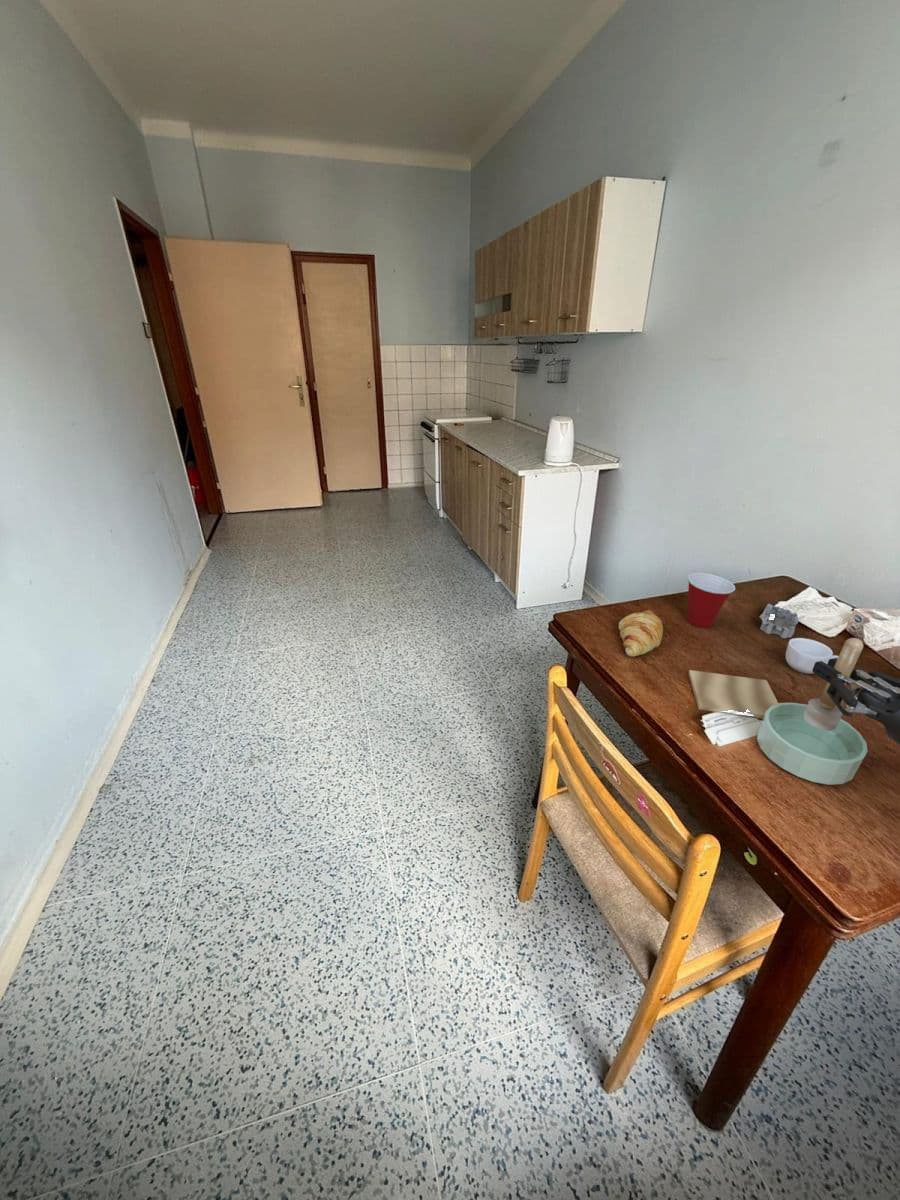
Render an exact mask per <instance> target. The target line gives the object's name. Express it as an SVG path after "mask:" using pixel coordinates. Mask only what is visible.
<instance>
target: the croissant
mask: <svg viewBox="0 0 900 1200" xmlns="http://www.w3.org/2000/svg"><path fill="white" fill-rule="evenodd" d="M618 629H619V636H620V638H621V640H622V645H623V647H624V648H625V654H626V655H627V656H628V657H632V658H633V657H637V656H641V655H645V654H647V653H649V652H651V651H653V649H655V648H657V647H660V645H661V642H662V639H663V634H664V626H663V622H662V620H661V618H660V617H658V615H656V614H655V612H654V611H653V610H650V609H645V610H643V611H638V612H633V613H630V614H628V615H626V616H625V617H623V618H622V619H621V620H619V622H618Z"/></svg>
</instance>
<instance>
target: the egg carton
mask: <svg viewBox="0 0 900 1200" xmlns="http://www.w3.org/2000/svg"><path fill="white" fill-rule="evenodd" d="M770 614H775V618H774V620H769V617H770ZM760 617H761V620H762V622H761V625H760V627H759V630H761V631H762V632H764V633H765V634H768V635H771V634H773V635H779V637H780V638H781V639H787V638H792V637H793V635H794V634H795V631H796V627H797V625H798V623H799V621H800V620H799V619H800V618H799V617H798V613H797V612H795V611H794V612H791V610H790V609H785V608H783V607H780V606H778V605H777V606H775V605H773V604H771V603H767V605H766V606H765V608H764V610H763V612H762V614H761V616H760Z"/></svg>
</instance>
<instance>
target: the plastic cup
mask: <svg viewBox="0 0 900 1200" xmlns="http://www.w3.org/2000/svg"><path fill="white" fill-rule="evenodd" d="M687 582H688V595H687V615H686V616H687V617H686V619H687V622H688V624H690V625H692V626H694V627H696V628H702V629H707V628H710V627H712V625H713V624H714V623H715V620H716V618H717V616H718V615H719V614H720V611H721V610H722V608H723V606H724V604H725V603H726V601H727V599H728V598H729V596H730V595H731V594H732V593H734V592H735V590H736V586H735V584H734V583H732V581H731V580H729V579H726V578H724V577H722V576H720V575H716V574H712V573H707V572H692V573H690V574H688V576H687Z"/></svg>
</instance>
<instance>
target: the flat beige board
mask: <svg viewBox="0 0 900 1200" xmlns="http://www.w3.org/2000/svg"><path fill="white" fill-rule="evenodd" d="M688 677H689V681H690V684H691V687H692V691H693V695H694V699H695V701H696V702H695V703H696V705H697V710H700V711H706V712H707V711H708V712H715V713H719V712H718V711H728V710H734V711H738V712H743V713H744V712H746V710H747V709H748V710H749V711H750V712H747V713H750V714H753V715H754V716H755V717H756V719H759V720H763V717H764V715H765V712H766V711H767V710H768V709H769V708H770V707H771V706H773V705H776V704H779V702H778V699H777V698H776V696H775V693H774V692H773V690H772V687H771V685H770V683H769V682H768V680H767V679H761V678H754V677H753V678H752V677H746V676H738V675H730V674H722V673H715V672H707V671H702V670H693V669H689V670H688Z"/></svg>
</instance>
